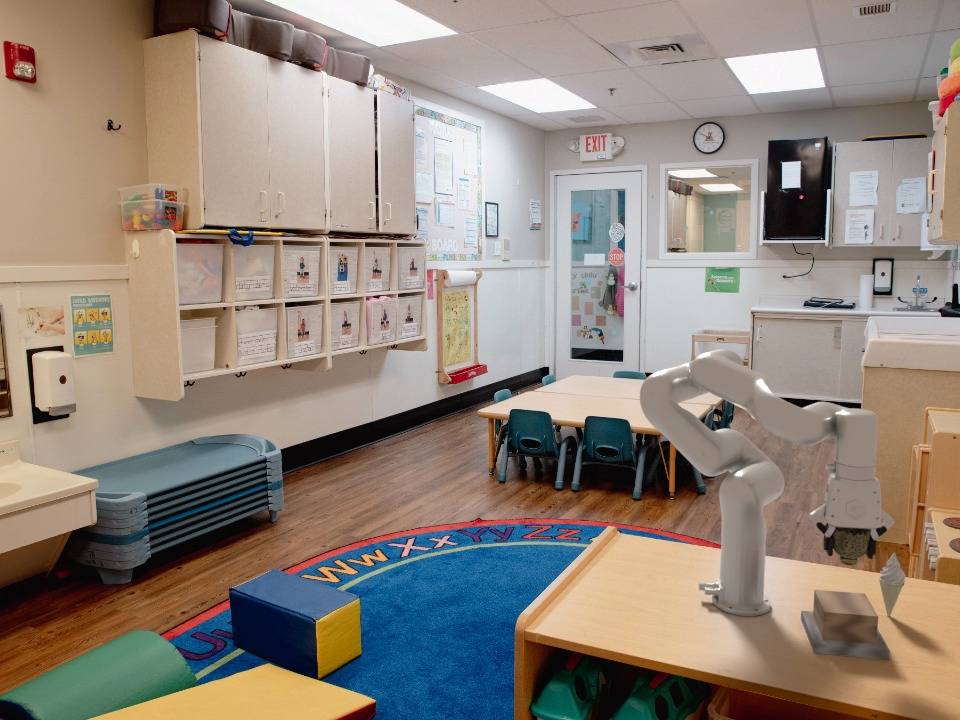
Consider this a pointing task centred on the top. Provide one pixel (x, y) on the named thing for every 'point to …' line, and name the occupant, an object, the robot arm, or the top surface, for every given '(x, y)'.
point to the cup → (850, 544)
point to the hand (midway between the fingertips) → (848, 554)
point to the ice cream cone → (891, 583)
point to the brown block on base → (844, 626)
